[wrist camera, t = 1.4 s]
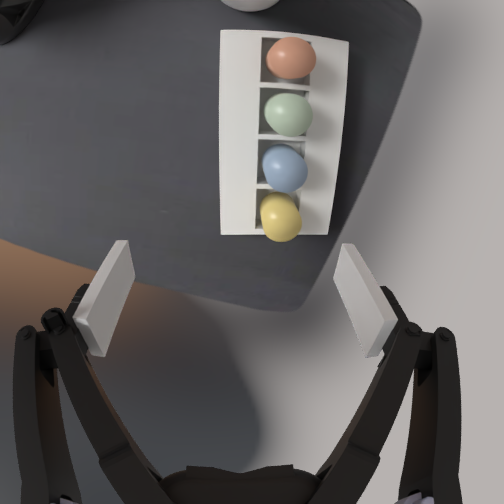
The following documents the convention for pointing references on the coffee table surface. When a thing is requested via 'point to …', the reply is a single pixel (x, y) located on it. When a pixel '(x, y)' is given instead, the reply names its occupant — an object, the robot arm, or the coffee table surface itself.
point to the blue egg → (284, 168)
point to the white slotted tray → (263, 135)
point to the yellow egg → (280, 217)
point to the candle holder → (250, 4)
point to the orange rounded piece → (290, 58)
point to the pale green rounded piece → (288, 114)
